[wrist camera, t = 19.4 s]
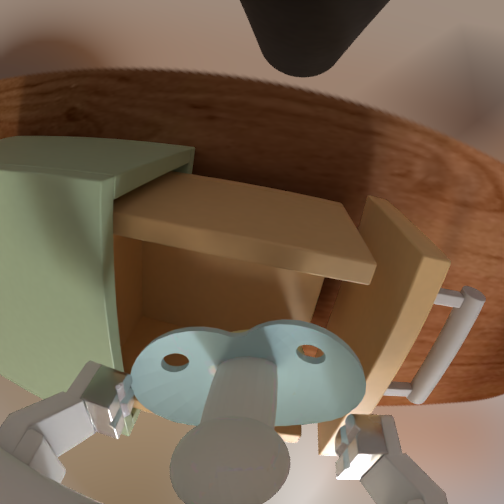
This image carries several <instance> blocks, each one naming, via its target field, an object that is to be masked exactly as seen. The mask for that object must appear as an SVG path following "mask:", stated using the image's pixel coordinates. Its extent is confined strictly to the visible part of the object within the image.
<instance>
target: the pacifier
mask: <svg viewBox="0 0 504 504" xmlns="http://www.w3.org/2000/svg"><path fill="white" fill-rule="evenodd" d="M305 344H306V345H313V346H315V347H318V348H319V349H321V350H322V351H323V352H324V355H323V356H321V357H317V358H314V357H310V356H306V355H304V351H303V349H302V347H301V346H300V345H305ZM173 353H179V354H182V355H184V356H186V357H187V358H188V359H189V362H188V363H187V364H185V365H182V366H171V365H169V364H167V363H166V362H165V361H164V357H165V356H167V355H169V354H173ZM130 375H132V380H133V382H132V384H131V388H132V390H134V395H135V396H136V398H137V399H138V401H139V402H140V403H141V404H142V405H143V406H144V407H145V408H146V409H148V410H150V411H151V412H153V413H154V414H156V415H159V416H161V417H163V418H165V419H168V420H171V421H173V422H177V423H184V424H187V425H195V426H196V427H194V428H193V429H192V430H190V431H189V432H188V433H187V434H186V435H185V436H184V437H183V438H182V439H181V440H180V442H179V443H178V445H177V446H176V448H175V450H174V452H173V455H172V458H171V463H170V479H171V482H172V485H173V488H174V490H175V492H176V494H177V495H178V497H179V498H180V499H181V500H182V501H183V502H184V503H185V504H263V503H264V502H266V501H267V500H269V499H270V498H271V497H273V496H274V495H275V494H276V492H278V491H279V489H280V488H281V487H282V485H283V484H284V482H285V481H286V478H287V476H288V474H289V469H290V456H289V452H288V449H287V447H286V445H285V443H284V441H283V439H282V438H281V437H280V435H279V434H278V433H277V432H276V431H275V430H274V428H275V426H290V425H304V424H312V423H320V422H325V421H332V420H334V419H337V418H341V417H343V416H345V415H346V414H348V413H350V412H351V410H353V409H354V408H356V407H357V406H358V405H359V403H360V402H361V401H362V399H363V397H364V395H365V391H366V381H365V376H364V371H363V367H362V365H361V363H360V361H359V359H358V357H357V355H356V354H355V353H354V352H353V350H352V349H351V348H350V346H349V345H348V344H347V343H345V342H344V341H343V340H342V339H341V338H339V337H338V336H337V335H335V334H334V333H332V332H330V331H329V330H327V329H325V328H323V327H320V326H318V325H315V324H312V323H308V322H305V321H301V320H287V319H281V320H274V321H268V322H265V323H262V324H259V325H256V326H255V327H253V328H251V329H247V330H238V331H233V332H228V331H225V330H221V329H218V328H211V327H185V328H180V329H176V330H172V331H170V332H167V333H165V334H163V335H161V336H159V337H157V338H156V339H154V340H153V341H152V342H150V343H149V344H148V345H147V346H146V347H145V348H144V349H143V350H142V352H141V353H140V354H139V356H138V357H137V359H136V361H135V363H134V365H133V366H132V370H131V374H130Z"/></svg>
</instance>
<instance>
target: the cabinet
mask: <svg viewBox="0 0 504 504" xmlns="http://www.w3.org/2000/svg"><path fill="white" fill-rule="evenodd" d="M194 153H195V147H190V146H182V145H173V144H165V143H155V142H145V141H134V140H122V139H109V138H92V137H70V136H14V137H9V138H4V139H0V375H2V376H3V377H5V378H7V379H8V380H10V381H12V382H13V383H15V384H17V385H18V386H20V387H22V388H24V389H25V390H27V391H29V392H31V393H32V394H34V395H36V396H38V397H40V398H42V399H46V398H48V397H51V396H53V395H55V394H57V393H60V392H62V391H63V392H65V393H66V392H67V390H68V389H69V387H70V386H71V384H72V383H73V381H74V380H75V378H76V377H77V376H78V374H79V373H80V371H81V370H82V368H83V367H84V366H85V364H86V363H87V362H89V361H90V360H91V361H94V362H96V363H99V364H102V365H105V366H107V367H110V368H113V369H116V370H119V371H121V372H124V368H123V361H122V354H121V346H120V337H119V328H118V318H117V307H116V294H115V277H114V253H113V200H114V199H116V198H118V197H120V196H122V195H124V194H126V193H128V192H130V191H132V190H134V189H136V188H137V187H139V186H141V185H143V184H145V183H147V182H149V181H151V180H153V179H156V178H158V177H160V176H162V175H164V174H166V173H168V172H170V171H173V172H180V173H187V174H192V169H193V161H194ZM140 411H141V410H140V409H137V408H134V407H133V408H132V411H131V413H130V415H128V416H126V417H125V418H123V419H124V423H125V426H124V428H123V430H122V432H121V434H124V435H126V436H129V435H130V433H131V430H132V429H133V427H134V424H135V422H136V420H137V418H138V415H139V413H140Z"/></svg>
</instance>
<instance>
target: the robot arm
mask: <svg viewBox="0 0 504 504" xmlns="http://www.w3.org/2000/svg"><path fill="white" fill-rule="evenodd" d="M132 382H133V380H132V375H130V374H127V373H124V372H121V371H119V370H116V369H113V368H110V367H107V366H105V365H102V364H99V363H96V362H94V361H91V360H90V361H89V362H87V363H86V364H85V366H84V367H83V368H82V370H81V371H80V373H79V374H78V376H77V377H76V378H75V380H74V381H73V383H72V384H71V386H70V387H69V389H68V390H67V392H66V393H65V392H63V391H62V392H60V393H57V394H55V395H53V396H51V397H48V398H46V399H44V400H41V401H39V402H37V403H34V404H32V405H30V406H27V407H25V408H23V409H20V410H18V411H15V412H13V413H11V414H9V415H8V417H7V418H6V420H5V421H4V422H3V424H2V425H1V427H0V504H104V503H101V502H99V501H96V500H94V499H92V498H90V497H87V496H85V495H83V494H81V493H79V492H76V491H74V490H72V489H70V488H68V487H66V486H64V485H62V484H60V483H61V481H62V479H63V477H64V475H65V473H66V470H65V467H64V466H63V465H62V463H61V462H60V460H59V459H58V458H57V457H58V456H60V455H62V454H63V453H65V452H66V451H68V450H70V449H71V448H73V447H74V446H76V445H77V444H79V443H81V442H82V441H84V440H85V439H87V438H88V437H90V436H91V435H93V434H94V433H95V431H96V432H99V433H102V434H105V435H107V436H110V437H113V438H116V439H118V438H119V436H120V434H121V432H122V430H123V428H124V426H125V423H124V419H123V418H125V417H126V416H128V415H130V413H131V411H132V408H133V405H134V401H135V395H134V390H132V388H131V384H132ZM335 453H336V454H337V455H338V456H339V457H340V458H339V459H338V460H337V462H336V475H337V479H360V482H361V483H362V485H363V486H364V487H365V489H366V490H367V492H368V493H369V495H370V496H371V498H372V499H373V500H374V502H375V503H376V504H448V502H447V498H446V494H445V492H444V491H443V490H442V489H441V488H440V487H439V486H438V485H437V484H436V483H435V482H434V481H433V480H432V479H431V478H430V477H429V476H428V475H427V474H426V473H425V472H424V471H423V470H422V469H421V468H420V467H419V466H418V465H417V464H416V463H415V462H414V461H413V460H412V459H411V458H410V457H409V456H408V455H407V454H405V453H402V450H401V446H400V442H399V438H398V433H397V430H396V426H395V421H394V418H393V416H392V415H374V414H372V415H371V414H350V415H348V416H347V418H346V419H345V425H344V426H342V427H340V429H339V430H338V432H337V435H336V438H335Z"/></svg>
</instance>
